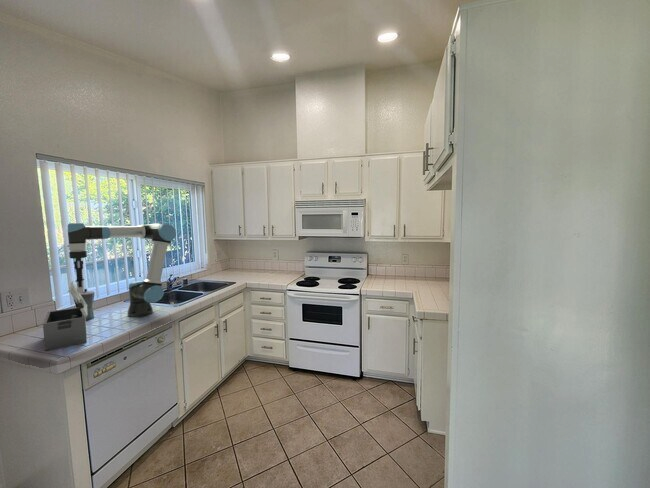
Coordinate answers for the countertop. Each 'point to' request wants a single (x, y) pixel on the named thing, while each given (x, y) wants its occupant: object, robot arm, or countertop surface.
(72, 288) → the cream box lid
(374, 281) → the countertop surface
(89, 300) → the moka pot
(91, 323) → the countertop surface
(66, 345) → the storage box
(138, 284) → the robot arm
